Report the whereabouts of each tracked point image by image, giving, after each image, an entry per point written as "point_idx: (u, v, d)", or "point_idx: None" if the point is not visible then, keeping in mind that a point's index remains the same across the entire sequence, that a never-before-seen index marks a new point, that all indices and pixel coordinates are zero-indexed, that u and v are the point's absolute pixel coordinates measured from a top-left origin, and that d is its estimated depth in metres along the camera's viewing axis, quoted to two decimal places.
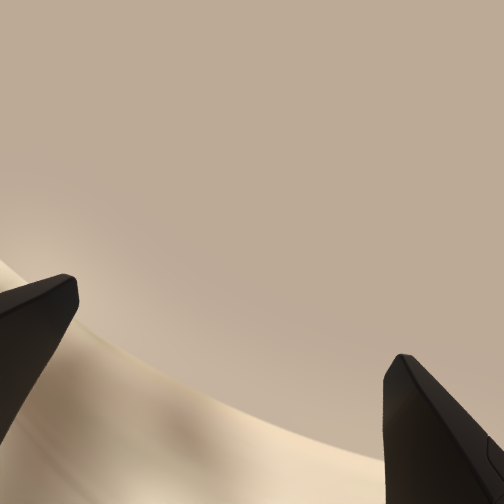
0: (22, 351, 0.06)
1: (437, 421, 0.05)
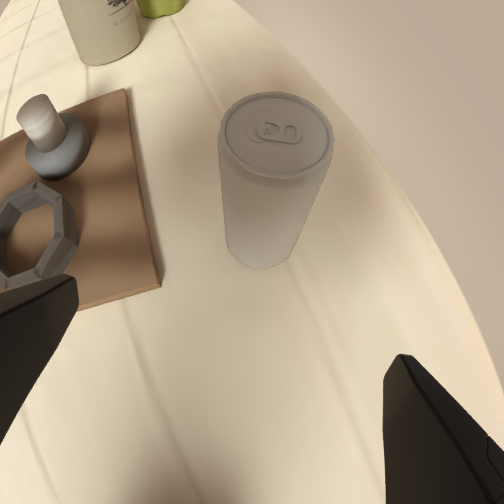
0: (22, 351, 0.06)
1: (437, 421, 0.05)
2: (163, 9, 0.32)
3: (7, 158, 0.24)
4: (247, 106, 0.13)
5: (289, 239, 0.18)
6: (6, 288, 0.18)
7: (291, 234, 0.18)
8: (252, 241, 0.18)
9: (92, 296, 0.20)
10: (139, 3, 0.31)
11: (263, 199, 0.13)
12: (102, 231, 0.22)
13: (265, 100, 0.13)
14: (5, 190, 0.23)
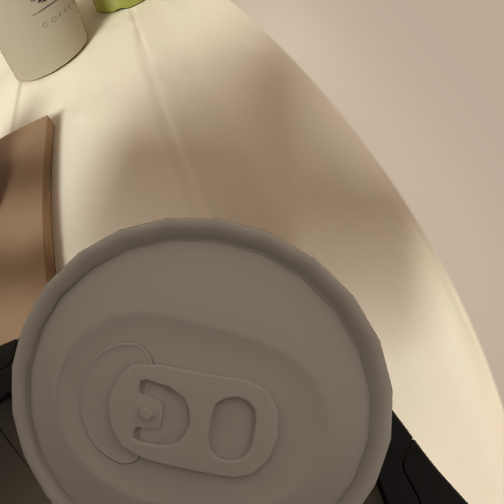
0: None
1: None
2: (120, 0, 0.23)
3: None
4: (88, 291, 0.03)
5: None
6: None
7: None
8: None
9: None
10: None
11: None
12: None
13: (151, 258, 0.04)
14: None
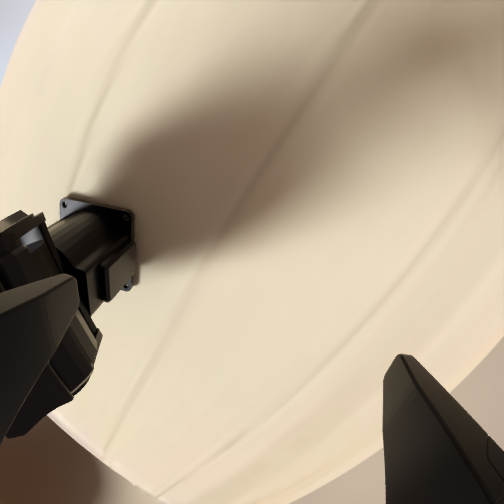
0: (22, 351, 0.06)
1: (437, 421, 0.05)
2: None
3: None
4: None
5: None
6: None
7: None
8: None
9: None
10: None
11: None
12: None
13: None
14: None
